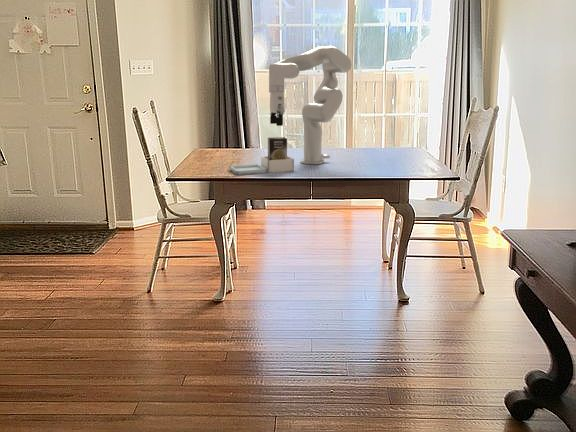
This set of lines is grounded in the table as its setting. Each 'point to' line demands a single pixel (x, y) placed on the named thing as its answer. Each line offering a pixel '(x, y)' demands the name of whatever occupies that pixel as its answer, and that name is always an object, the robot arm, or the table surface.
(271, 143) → the coffee box
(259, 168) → the tray
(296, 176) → the table surface
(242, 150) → the table surface
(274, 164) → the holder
